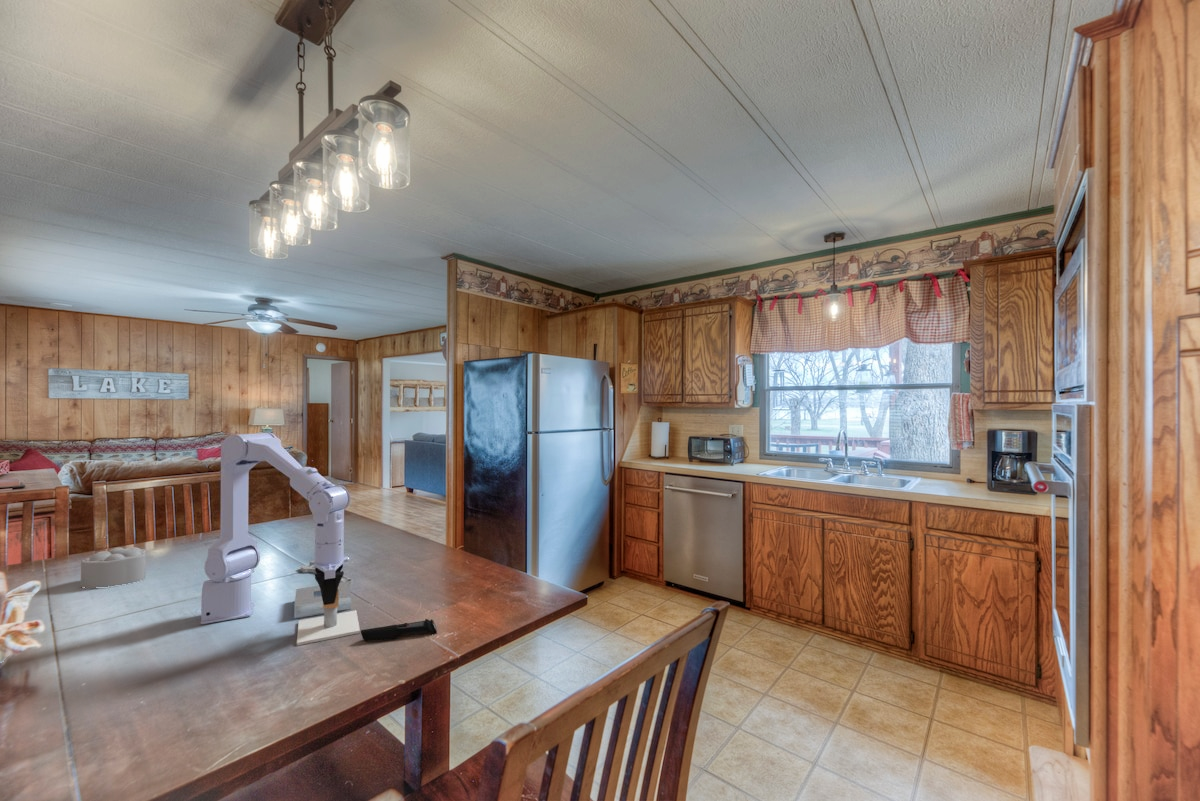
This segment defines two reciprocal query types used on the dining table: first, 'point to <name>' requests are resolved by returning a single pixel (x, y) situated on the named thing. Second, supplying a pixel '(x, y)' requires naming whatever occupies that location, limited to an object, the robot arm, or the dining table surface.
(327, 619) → the key
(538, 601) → the dining table surface
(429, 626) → the electric trimmer
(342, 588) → the socket block
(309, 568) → the adjustable wrench
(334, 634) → the mat
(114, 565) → the egg container
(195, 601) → the dining table surface
